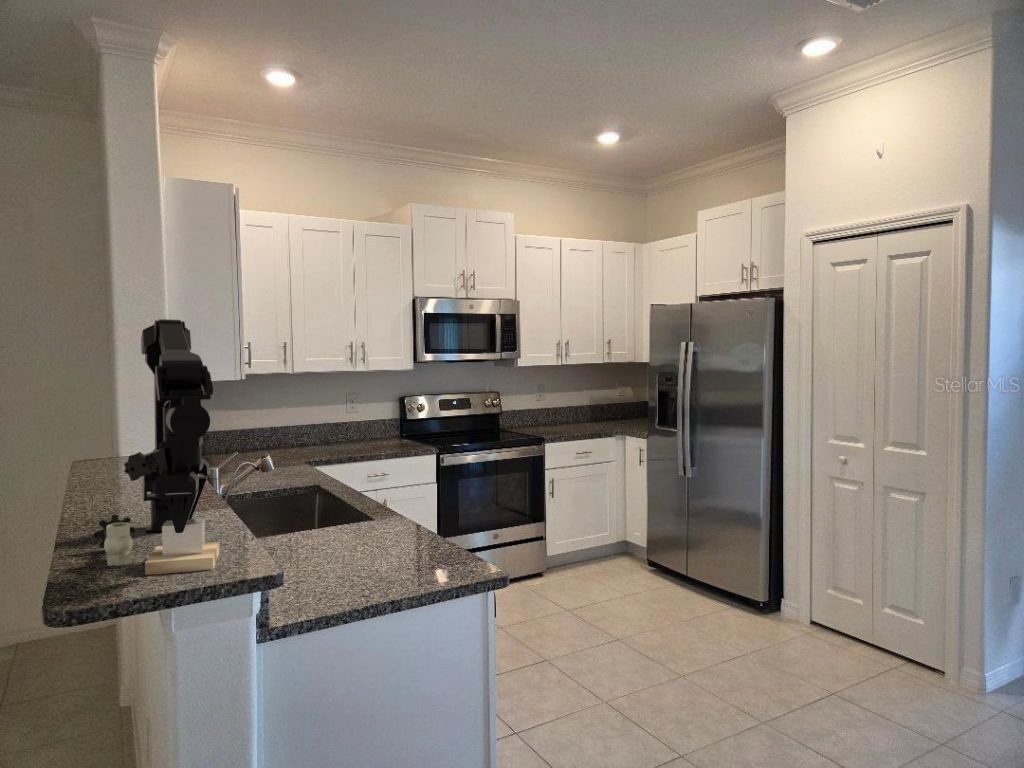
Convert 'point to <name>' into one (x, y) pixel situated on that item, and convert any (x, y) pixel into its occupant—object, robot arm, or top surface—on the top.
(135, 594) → the top surface
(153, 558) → the oak plate
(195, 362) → the robot arm
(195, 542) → the aluminium block
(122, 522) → the valve
